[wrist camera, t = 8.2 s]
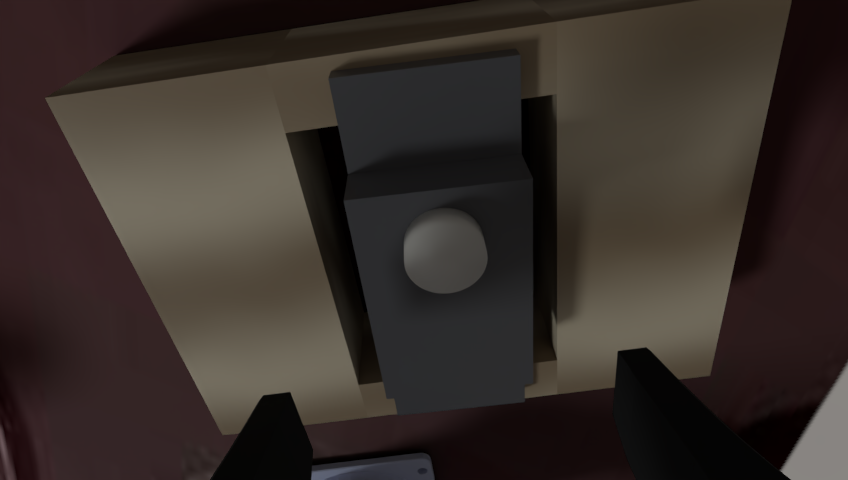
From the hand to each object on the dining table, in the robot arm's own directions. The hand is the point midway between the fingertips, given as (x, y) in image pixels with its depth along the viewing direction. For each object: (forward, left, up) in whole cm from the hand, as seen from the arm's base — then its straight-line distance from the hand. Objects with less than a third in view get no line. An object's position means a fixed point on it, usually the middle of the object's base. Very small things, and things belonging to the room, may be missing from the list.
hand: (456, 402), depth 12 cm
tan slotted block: (0, 0, -9) cm, 9 cm away
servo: (0, 0, -9) cm, 9 cm away
